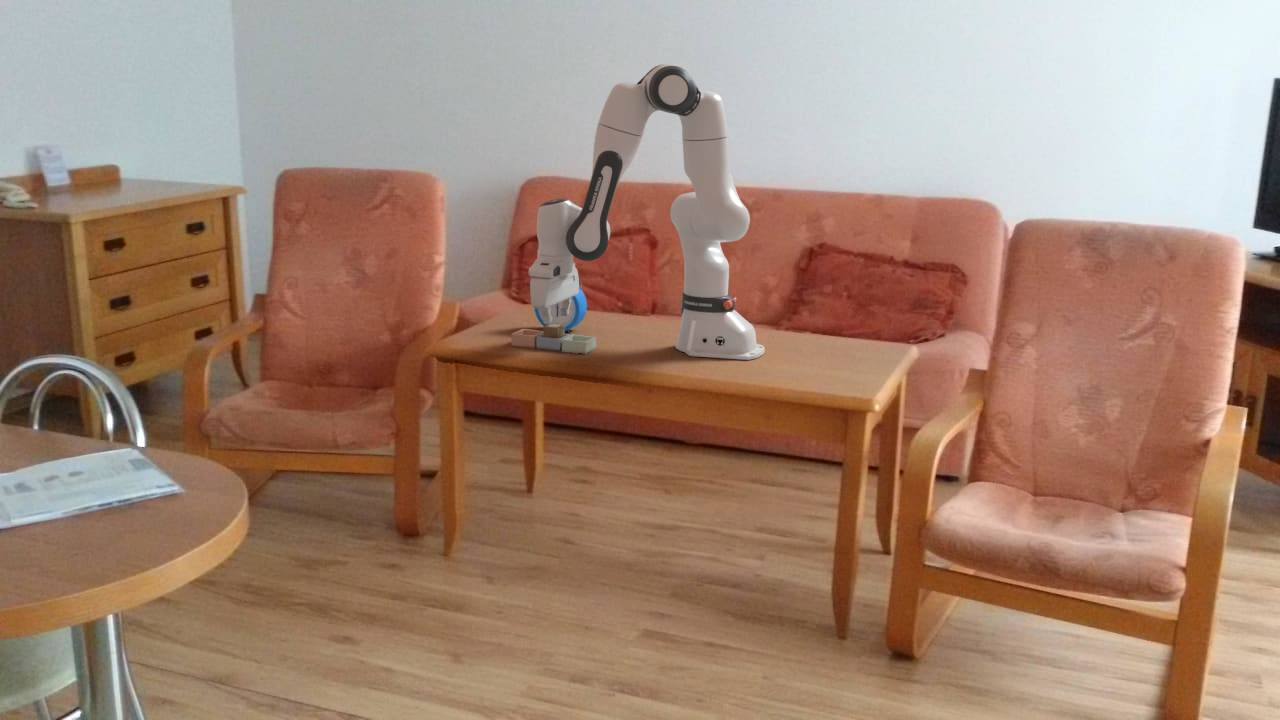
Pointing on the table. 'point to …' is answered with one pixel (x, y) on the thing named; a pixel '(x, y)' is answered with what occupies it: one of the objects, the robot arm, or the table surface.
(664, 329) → the table surface
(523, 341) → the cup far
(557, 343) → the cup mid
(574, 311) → the alarm clock
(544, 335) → the brown block
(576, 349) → the pale green square tray
